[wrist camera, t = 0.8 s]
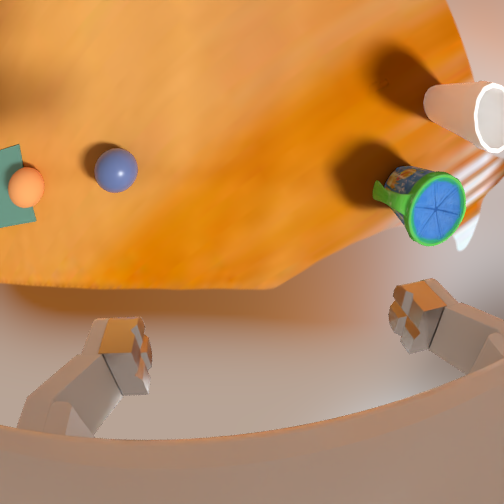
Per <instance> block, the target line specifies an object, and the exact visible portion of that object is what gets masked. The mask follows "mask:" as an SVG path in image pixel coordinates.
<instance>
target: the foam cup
mask: <svg viewBox="0 0 504 504" xmlns="http://www.w3.org/2000/svg"><path fill="white" fill-rule="evenodd" d="M423 104H424V111H425V113H426V115H427V116H428V118H429V119H430V120H431V121H433V122H434V123H436V124H438V125H440V126H442V127H444V128H445V129H447V130H449V131H451V132H453V133H455V134H457V135H459V136H460V137H462V138H464V139H466V140H468V141H469V142H471V143H473V144H474V145H475V146H476V147H477V148H480V149H482V150H485V151H487V152H492V153H499V152H501V151H502V150H503V149H504V87H503V86H502V85H499V84H496V83H492V82H485V81H479V82H474V83H456V84H443V85H435V86H432V87H430V88H429V89H428V90H427V92H426V93H425V96H424V101H423Z"/></svg>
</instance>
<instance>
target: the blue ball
mask: <svg viewBox="0 0 504 504" xmlns="http://www.w3.org/2000/svg"><path fill="white" fill-rule="evenodd" d="M137 172H138V167H137V162H136V160H135V158H134V156H133V155H132V154H131V153H130V152H128V151H127V150H125V149H121V148H113V149H110V150H107V151H106V152H104V153H103V154H102V155H101V156H100V157H99V158H98V160H97V162H96V165H95V170H94V173H95V179H96V181H97V183H98V184H99V186H100V187H101V188H103V189H104V190H106V191H108V192H112V193H118V192H122V191H124V190H126V189H128V188H129V187H130V186H131V185H132V184H133V183H134V181H135V179H136V176H137Z"/></svg>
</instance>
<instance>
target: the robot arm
mask: <svg viewBox="0 0 504 504" xmlns="http://www.w3.org/2000/svg"><path fill="white" fill-rule="evenodd" d="M393 297H394V299H395V301H394V302H393V304H392V305H391V306H390V309H389V314H388V315H389V323H390V326H391V328H392V330H393V331H394V333H396V334H398V335H400V336H401V340H400V342H401V343H402V345H403V346H404V347H405V349H406V350H407V352H408V353H409V354H411V353H416V352H419V351H423V350H427V349H429V351H431V352H432V353H434V354H435V355H437V356H439V357H440V358H442V359H443V360H445V361H446V362H448V363H450V364H451V365H452V366H454V367H456V368H457V369H458V370H460V371H461V372H463V373H465V374H466V375H465V376H463V377H461V378H458V379H456V380H453V381H451V382H449V383H446V384H443V385H441V386H438V387H436V388H433V389H430V390H427V391H425V392H423V393H419V394H417V395H413V396H410V397H407V398H404V399H401V400H398V401H395V402H392V403H389V404H385V405H382V406H379V407H375V408H372V409H368V410H365V411H361V412H357V413H353V414H350V415H345V416H341V417H337V418H333V419H328V420H324V421H320V422H314V423H309V424H304V425H299V426H294V427H288V428H282V429H276V430H269V431H263V432H255V433H247V434H239V435H230V436H220V437H208V438H192V439H167V440H126V439H103V438H95V437H94V434H95V433H96V431H97V430H98V429H99V427H100V426H101V425H102V423H103V422H104V421H105V420H106V418H107V417H108V416H109V414H110V413H111V412H112V410H113V409H114V408H115V406H116V405H117V404H118V403H119V401H120V400H121V399H122V396H124V395H146V394H149V386H150V375H149V373H148V370H149V369H150V368H151V367H152V349H151V344H150V341H149V338H148V337H147V336H146V335H144V332H145V325H144V322H143V319H142V318H141V317H123V318H100V319H95V320H94V321H93V323H92V326H91V329H90V331H89V334H88V337H87V340H86V342H85V345H84V348H83V351H82V354H81V355H76V356H75V357H74V358H72V359H71V360H70V361H69V362H68V363H67V364H66V365H64V366H63V367H62V368H61V369H59V370H58V371H57V372H56V373H55V374H54V375H52V376H51V377H50V378H49V379H48V380H47V381H45V382H44V383H43V384H42V385H41V386H40V387H38V388H37V389H36V390H35V391H34V392H33V393H31V394H30V395H29V396H28V397H27V399H26V402H25V404H24V407H23V410H22V413H21V416H20V419H19V422H18V425H17V428H13V427H8V426H3V425H0V504H504V320H502V319H500V318H498V317H495V316H493V315H490V314H488V313H486V312H484V311H481V310H479V309H476V308H474V307H471V306H469V305H467V304H464V303H458V302H457V301H456V300H455V299H454V298H453V297H452V296H451V295H450V294H449V292H448V291H447V290H445V288H444V287H443V286H442V285H440V283H439V282H438V281H437V280H435V279H432V278H430V279H426V280H421V281H419V282H413V283H408V284H403V285H397V286H396V288H395V289H394V293H393Z"/></svg>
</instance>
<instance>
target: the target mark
mask: <svg viewBox="0 0 504 504" xmlns="http://www.w3.org/2000/svg"><path fill="white" fill-rule="evenodd" d="M21 168H24V167H23V162H22V156H21V151H20V145H15V146H12V147H9V148H6V149H3V150H0V228H2V227H7V226H12V225H18V224H23V223H29V222H35V221H36V217H35V214H34V210H33V206H32V207H29V208H21V207H18V206H16V205H15V204H14V203H13V202H12V201H11V199H10V197H9V193H8V185H9V181H10V179H11V177H12V175H13V174H14V173H15V172H16V171H18V170H19V169H21Z"/></svg>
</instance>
